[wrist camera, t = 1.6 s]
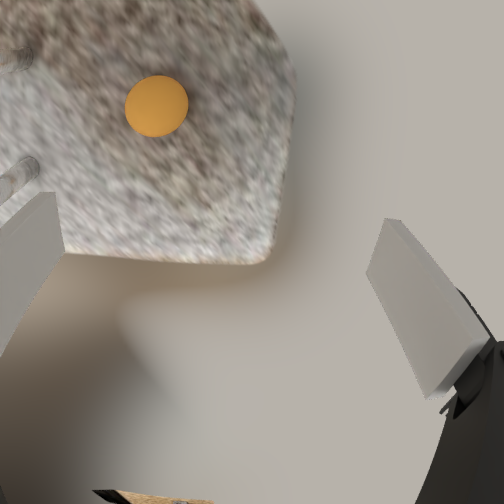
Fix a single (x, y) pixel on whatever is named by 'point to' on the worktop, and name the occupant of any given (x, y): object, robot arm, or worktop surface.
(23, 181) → the post
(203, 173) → the worktop surface
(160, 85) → the ball
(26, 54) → the post
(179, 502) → the coffee box
